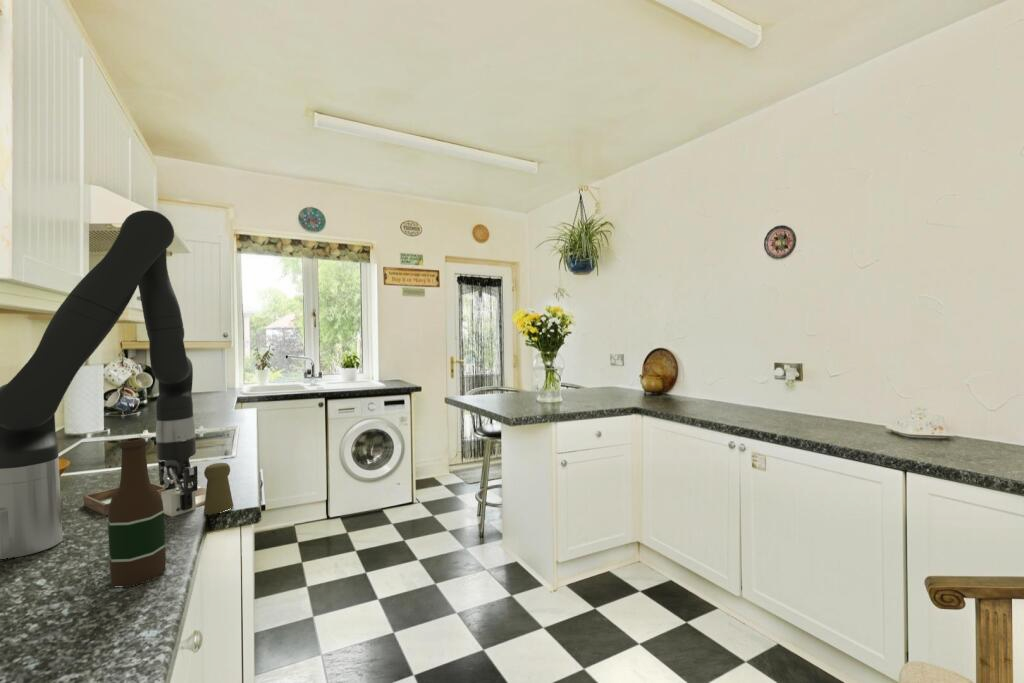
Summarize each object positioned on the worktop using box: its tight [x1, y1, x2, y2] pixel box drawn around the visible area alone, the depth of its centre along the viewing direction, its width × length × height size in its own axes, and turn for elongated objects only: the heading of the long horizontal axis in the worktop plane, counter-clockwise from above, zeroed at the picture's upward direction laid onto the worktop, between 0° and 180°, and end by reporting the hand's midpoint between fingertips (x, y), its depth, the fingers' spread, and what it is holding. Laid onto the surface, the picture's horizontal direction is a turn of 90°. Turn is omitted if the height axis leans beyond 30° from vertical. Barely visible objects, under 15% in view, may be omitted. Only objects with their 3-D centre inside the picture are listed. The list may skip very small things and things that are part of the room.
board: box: [162, 483, 207, 507], centre depth 122 cm, size 7×24×1 cm, turn 59°
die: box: [161, 488, 197, 517], centre depth 110 cm, size 5×5×5 cm
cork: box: [203, 462, 234, 516], centre depth 110 cm, size 6×6×11 cm
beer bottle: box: [107, 437, 167, 588], centre depth 80 cm, size 8×8×24 cm
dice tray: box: [82, 481, 166, 516], centre depth 117 cm, size 13×13×2 cm
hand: (179, 506), depth 110 cm, fingers open, 6 cm apart
